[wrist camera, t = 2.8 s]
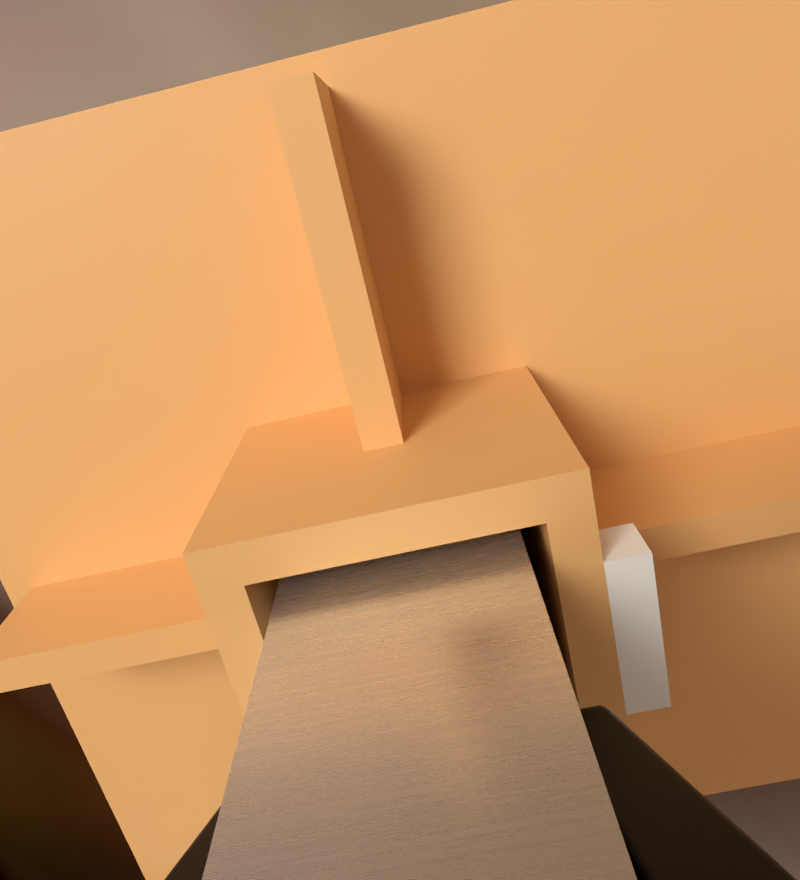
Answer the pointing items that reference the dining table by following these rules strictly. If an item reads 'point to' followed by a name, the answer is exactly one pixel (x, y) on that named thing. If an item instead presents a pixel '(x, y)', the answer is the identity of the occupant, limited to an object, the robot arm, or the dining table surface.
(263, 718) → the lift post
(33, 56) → the dining table surface
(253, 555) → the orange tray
